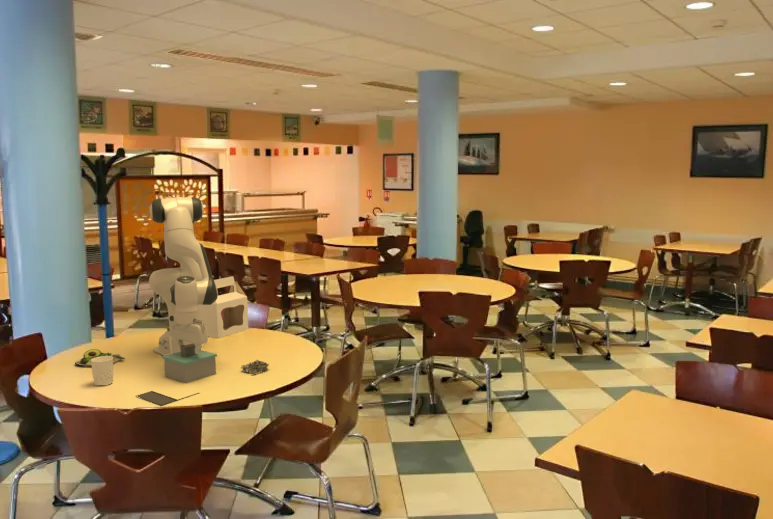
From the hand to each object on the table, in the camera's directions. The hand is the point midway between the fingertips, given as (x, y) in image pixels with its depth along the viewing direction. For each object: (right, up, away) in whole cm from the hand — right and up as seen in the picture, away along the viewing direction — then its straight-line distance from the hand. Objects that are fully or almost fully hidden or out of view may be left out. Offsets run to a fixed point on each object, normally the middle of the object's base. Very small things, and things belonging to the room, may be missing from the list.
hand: (189, 351), depth 258 cm
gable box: (-5, -1, +74) cm, 74 cm away
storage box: (0, -10, +1) cm, 10 cm away
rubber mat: (-2, -13, -19) cm, 24 cm away
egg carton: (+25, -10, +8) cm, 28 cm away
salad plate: (-47, -8, +24) cm, 53 cm away
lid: (0, -4, 0) cm, 4 cm away
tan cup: (-32, -12, -6) cm, 34 cm away
